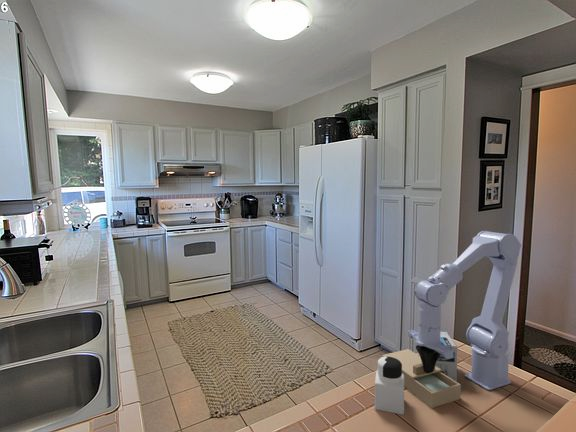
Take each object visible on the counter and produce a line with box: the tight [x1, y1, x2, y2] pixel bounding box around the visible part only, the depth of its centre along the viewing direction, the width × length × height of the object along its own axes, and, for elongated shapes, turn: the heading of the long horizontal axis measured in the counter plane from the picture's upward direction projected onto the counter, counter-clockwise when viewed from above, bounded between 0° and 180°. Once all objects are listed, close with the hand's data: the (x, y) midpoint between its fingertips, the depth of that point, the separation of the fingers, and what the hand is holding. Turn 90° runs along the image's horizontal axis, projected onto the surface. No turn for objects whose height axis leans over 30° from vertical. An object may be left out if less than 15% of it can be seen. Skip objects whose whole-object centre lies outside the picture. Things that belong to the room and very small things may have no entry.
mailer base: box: [402, 372, 462, 409], centre depth 91 cm, size 10×13×4 cm
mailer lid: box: [381, 348, 441, 379], centre depth 97 cm, size 10×13×3 cm
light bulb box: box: [435, 331, 458, 382], centre depth 100 cm, size 11×7×11 cm, turn 168°
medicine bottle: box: [374, 356, 405, 416], centre depth 85 cm, size 7×7×12 cm
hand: (428, 371), depth 91 cm, fingers closed
